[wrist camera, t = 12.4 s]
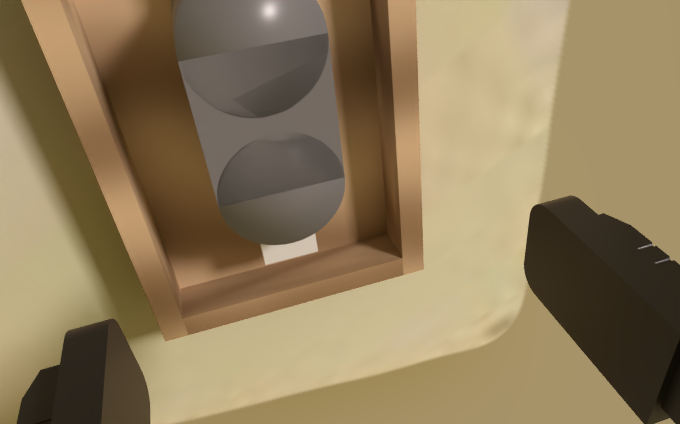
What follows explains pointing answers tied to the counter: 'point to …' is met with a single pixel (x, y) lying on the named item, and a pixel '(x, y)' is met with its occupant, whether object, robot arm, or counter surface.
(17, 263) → the counter surface
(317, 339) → the counter surface
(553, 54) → the counter surface
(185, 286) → the oak tray
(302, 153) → the gray bottle
